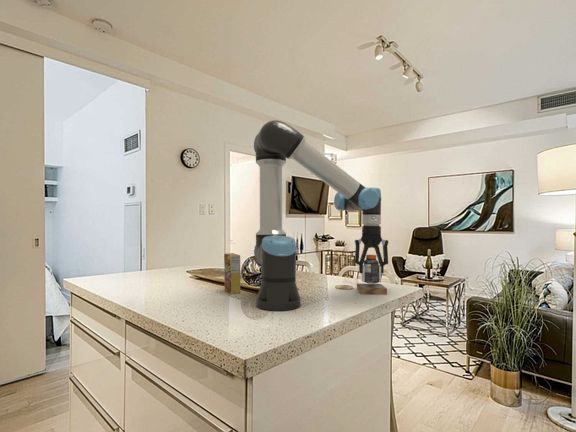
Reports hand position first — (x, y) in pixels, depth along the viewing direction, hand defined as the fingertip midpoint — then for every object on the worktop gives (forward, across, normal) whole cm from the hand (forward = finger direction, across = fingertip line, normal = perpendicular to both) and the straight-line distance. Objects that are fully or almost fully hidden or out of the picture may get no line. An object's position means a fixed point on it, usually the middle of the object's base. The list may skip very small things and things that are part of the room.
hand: (371, 281), depth 136 cm
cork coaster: (+4, -10, +8) cm, 13 cm away
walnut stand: (+4, 0, 0) cm, 4 cm away
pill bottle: (+1, 0, 0) cm, 1 cm away
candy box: (+5, -57, -3) cm, 57 cm away
